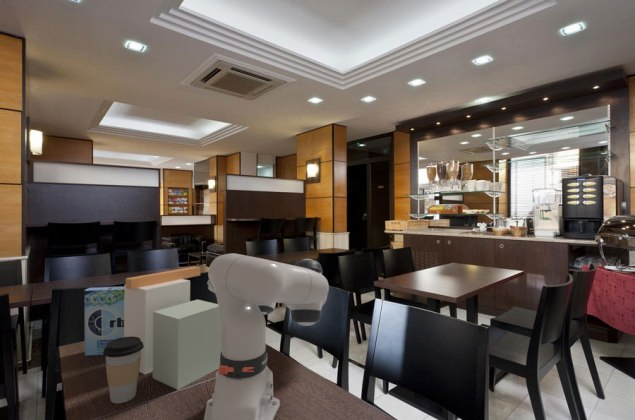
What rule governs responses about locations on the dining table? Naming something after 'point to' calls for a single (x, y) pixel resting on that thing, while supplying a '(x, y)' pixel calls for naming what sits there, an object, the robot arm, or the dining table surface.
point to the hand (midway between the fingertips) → (216, 283)
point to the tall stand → (150, 312)
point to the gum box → (103, 317)
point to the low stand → (186, 342)
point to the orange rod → (161, 277)
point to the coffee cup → (123, 367)
